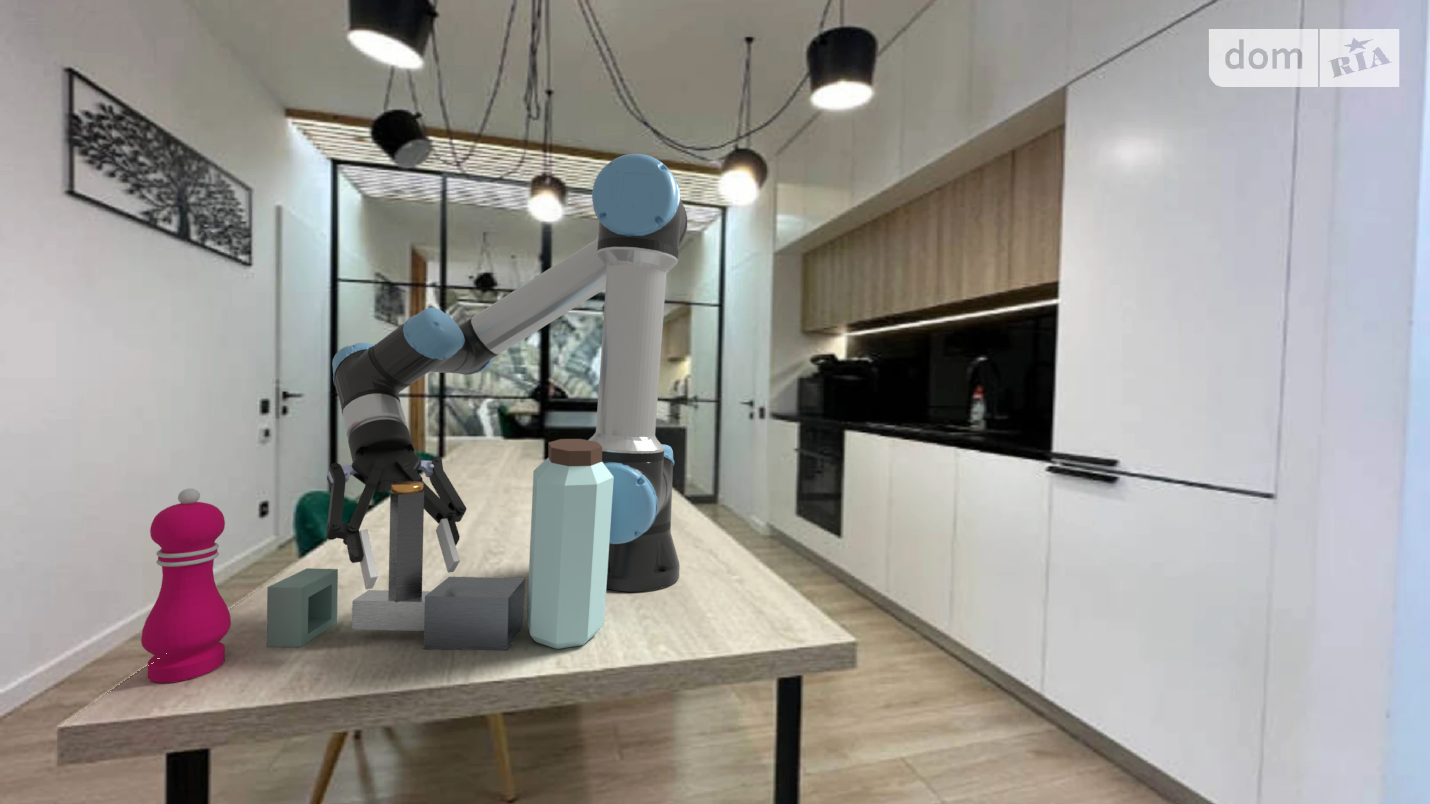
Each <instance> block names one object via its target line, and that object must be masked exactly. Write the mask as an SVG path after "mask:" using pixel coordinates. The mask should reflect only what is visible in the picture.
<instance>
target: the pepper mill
mask: <svg viewBox="0 0 1430 804" xmlns="http://www.w3.org/2000/svg"><path fill="white" fill-rule="evenodd" d="M200 497H201V493H200V492H199V490H197V489H196V488H186V489H183V490H181V491H180V492H179V493H178V496H177V500H178V502H179V503H176V504H173V505H170V506H168V507H165V508H164V509H162V510H160V512H158V513H157V514H156V515H155V516H154V518H153V520H152V522H151V524H150V529H149V533H150V538H151V540H152V541H153V542H154V543H155V544H156V545H158V546H159V547H160V549H159V550H157V552H156V556H157V560H156V564H157V565H158V566H160V567H161V571H162V578H161V579H162V580H161V585H160V590H159V593H158V597H157V598H156V601H155V603H154V605H153V607H152V609H151V610H150V611H149V614H148V615H147V617H146V619H145V622H144V625H143V627H142V631H141V640H140V643H141V647H142V648H143V649H144V650H145V651H147V653H150V654H151V655H152V656H151V658H149V660H148V661H147V671H146V672H147V679H148V680H149V681H150V682H153V683H155V684H157V683H159V684H167V683H170V684H172V683H177V682H178V683H179V682H183V681H187V680H192V679H195V678H198V677H201V676H204V675H206V674H208V673H211V672H213V671H215V670H216V669H218V668H220V667H221V666H222V665H223V664H224V662H225V660H226V654H225V653H226V645H225V644H224V643H222V642H221V640H223V638H224V637H226V635H227V634H228V633H229V632H230V629H231V625H232V622H231V621H232V620H231V612H230V610H229V608H228V605H227V604H226V603H227V602H225V600H224V599H223V597H222V595H221V594H220V592H219V590H218V588H217V585H216V582H215V575H214V562H215V559H216V558H218V557H219V554H220V553H219V551H218V549H219V547H220V545H219V543H217V542H216V541H217V539H218V538H219V537H220V536H221V535H222V534H223V532H224V531H225V527H226V525H225V524H226V521H225V516H224V514H223V512H222V510H220V509H219V508H218V506H215V505H214V504H211V503H208V502H202V501H199V500H200ZM166 653H167V654H166ZM157 658H160V659H157ZM153 662H154V663H153ZM151 663H153V664H151ZM148 665H149V666H148Z"/></svg>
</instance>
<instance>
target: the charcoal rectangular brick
mask: <svg viewBox="0 0 1430 804" xmlns="http://www.w3.org/2000/svg"><path fill="white" fill-rule="evenodd" d="M525 590H526V578H525V577H524V578H523V577H488V576H486V577H485V576H484V577H483V576H482V577H480V576H476V577H475V576H448V577H447V578H445V580H443V581H442V582H440V583H439V584H438V585H437V586H435V588H433V589H432V590H430V591H431V592H429V593H428V594H427V595H426V596H425V614H424V631H423V649H424V650H462V651H463V650H466V651H467V650H468V651H469V650H470V651H471V650H472V651H473V650H475V651H477V650H478V651H508V650H509V648H510V646H511V645H513V644H512V643H514V641H515V639H516V638H517V636H519V633H521V630H523V628H524V625H525V598H526V597H525V596H526V595H525V593H526V591H525Z"/></svg>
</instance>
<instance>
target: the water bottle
mask: <svg viewBox="0 0 1430 804" xmlns="http://www.w3.org/2000/svg"><path fill="white" fill-rule="evenodd" d="M547 445H548V447H547V448H548V450H547V451H548V453H547V454H548V456H547V458H546V459H544V461H543V462H541V464H538V466H537V467H536V468H535V469H533V473H532V475H533V477H532V493H531V494H532V495H531V516H530V517H531V518H530V520H531V521H530V538H529V539H530V540H529V541H530V542H529V562H528V563H529V565H528V586H527V587H528V589H527V604H526V605H527V609H526V610H527V611H526V621H527V625H528V631H529V634H530V636H531V638H532V639H533V640H534V641H535V642H536V643H538V644H541V645H544V646H547V647H550V648H553V649H555V650H559V649H567V648H572V647H578V646H584V645H585V644H587V642H589V640H590V639H592V638H593V637H594V636H596V635H597V633H598V632H599V631H600V630H601V629H602V628H603V626H604V624H605V615H606V614H605V612H606V600H607V598H606V596H607V588H606V585H607V570H608V555H609V540H610V525H611V510H612V495H613V480H614V477H613V475H612V474H611V473H610V471H609V470H608V469H607V467H606V466H605V465H604V464H603V462H602V446H601V445H600V444H599V443H598V442H594V441H589V439H582V438H560V439H555V440H553V441H548V444H547Z"/></svg>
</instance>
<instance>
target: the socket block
mask: <svg viewBox="0 0 1430 804" xmlns="http://www.w3.org/2000/svg"><path fill="white" fill-rule="evenodd" d="M338 576H339V569H338V568H310V567H309V568H305V569H302V570H301V571H298V572H295V573H294V574H292V575H290V576H288V577H286V578H283V579H282V580H279V581H278V582H276V583H273V584H271V585H269V586H268V587H267V595H266V596H267V597H266V598H267V601H266V603H267V606H266V647H268V648H269V647H270V648H271V647H273V648H276V647H278V648H279V647H280V648H282V647H283V648H284V647H285V648H286V647H287V648H288V647H289V648H302V647H304V646H305V645H306V644H307V643H309V642H311V641H312V640H314V639H315V638H316V637H318V636H319V635H321V634H322V633H324V632H326V631H327V630H329V629H330V628H331V627H333V626H335V625H336V624H337V623H338V589H339V588H338V587H339V585H338V584H339V577H338Z"/></svg>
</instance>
